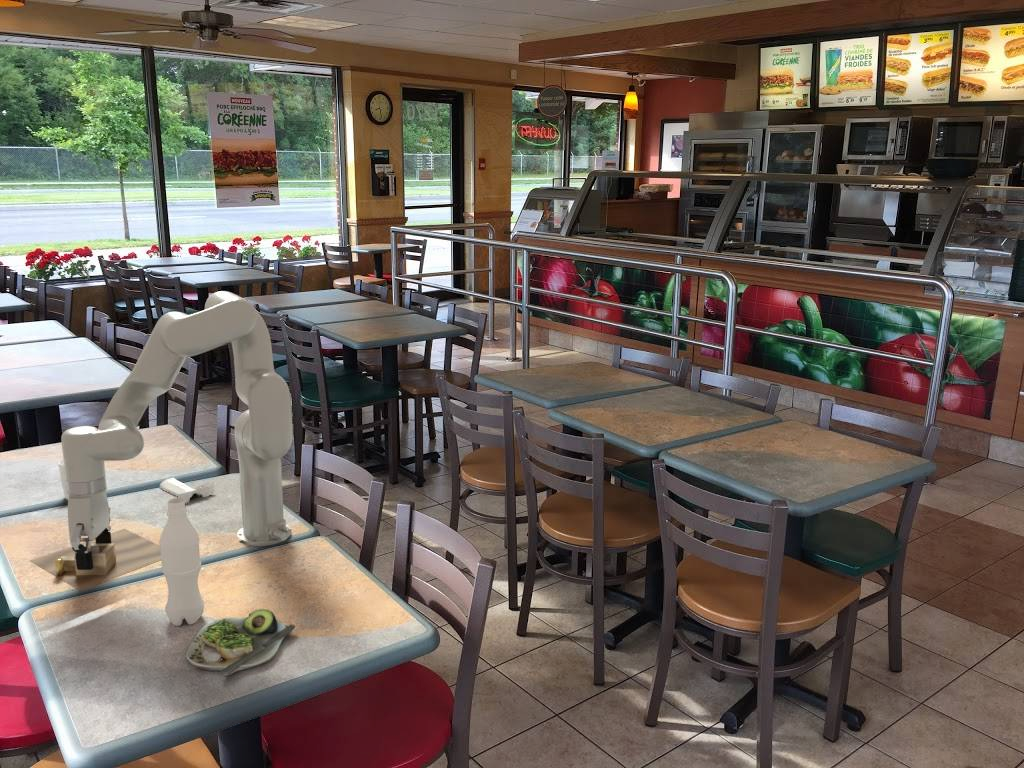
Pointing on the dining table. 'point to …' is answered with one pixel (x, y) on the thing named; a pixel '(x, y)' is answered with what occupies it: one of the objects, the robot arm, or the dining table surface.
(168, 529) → the water bottle
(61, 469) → the white cup
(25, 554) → the dining table surface
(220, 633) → the avocado toast plate
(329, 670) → the dining table surface
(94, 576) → the board
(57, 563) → the dowel pin
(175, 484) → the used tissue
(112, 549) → the square frame with tab
